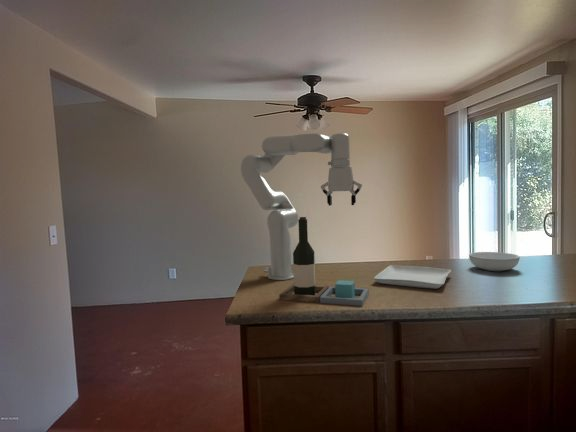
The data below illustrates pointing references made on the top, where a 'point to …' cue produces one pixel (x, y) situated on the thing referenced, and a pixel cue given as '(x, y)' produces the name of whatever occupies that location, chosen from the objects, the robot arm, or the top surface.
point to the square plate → (413, 276)
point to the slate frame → (345, 301)
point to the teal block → (345, 289)
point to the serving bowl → (494, 260)
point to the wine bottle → (304, 263)
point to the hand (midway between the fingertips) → (341, 205)
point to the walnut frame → (307, 298)
